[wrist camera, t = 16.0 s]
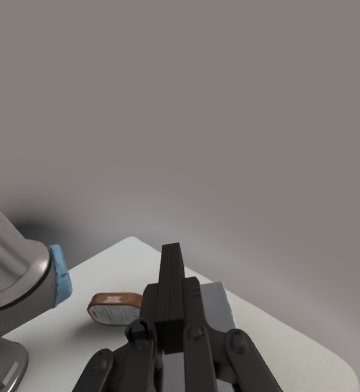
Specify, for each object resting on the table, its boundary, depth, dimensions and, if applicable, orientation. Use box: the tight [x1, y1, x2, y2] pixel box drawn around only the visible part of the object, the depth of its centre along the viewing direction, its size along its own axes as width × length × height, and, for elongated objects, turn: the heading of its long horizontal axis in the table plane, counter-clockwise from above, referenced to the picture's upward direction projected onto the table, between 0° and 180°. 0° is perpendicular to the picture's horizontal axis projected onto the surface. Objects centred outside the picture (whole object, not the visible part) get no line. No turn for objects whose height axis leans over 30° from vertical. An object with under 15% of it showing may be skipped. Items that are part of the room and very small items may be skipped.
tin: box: [87, 293, 143, 326], centre depth 38 cm, size 15×3×8 cm, turn 83°
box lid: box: [162, 282, 237, 392], centre depth 24 cm, size 13×12×1 cm
